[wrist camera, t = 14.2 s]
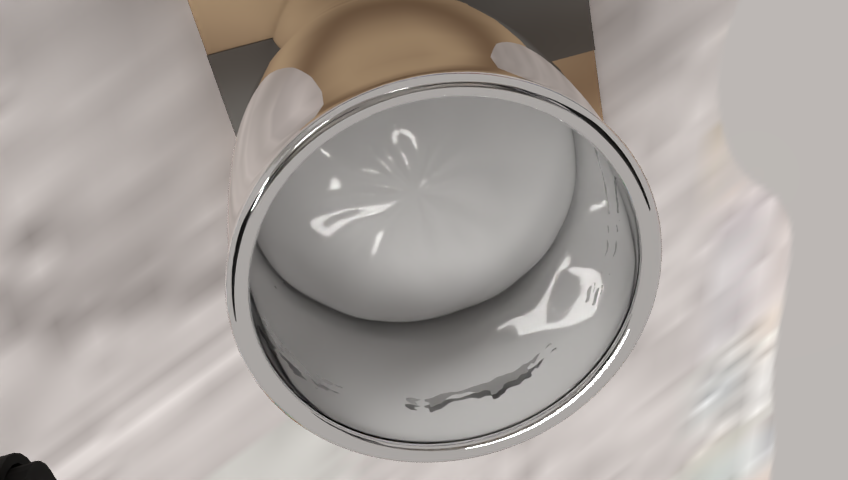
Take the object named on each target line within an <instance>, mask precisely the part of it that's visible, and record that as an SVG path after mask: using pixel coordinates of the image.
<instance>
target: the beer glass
mask: <svg viewBox="0 0 848 480" xmlns="http://www.w3.org/2000/svg"><path fill="white" fill-rule="evenodd" d="M227 238H228V254H227V261H226V271H225V297H226V306H227V313H228V318H229V323H230V327H231V330H232V334H233V337H234V340H235V343H236V345H237V348H238V350H239V353H240V355H241V357H242V359H243V361H244V363H245V365H246V367H247V368H248V370H249V372H250V373H251V375H252V377H253V378H254V380H255V381H256V383H257V384H258V385H259V387H260V388H261V389H262V390H263V392H264V393H265V394H266V395H267V396H268V397H269V399H270V400H271V401H272V402H273V403H274V404H275V405H276V406H277V407H278V408H279V409H280V410H281V411H283V412H284V413H285V414H286V415H287V416H288V417H290V418H291V419H292V420H294V421H295V422H296V423H298V424H299V425H300V426H302V427H303V428H305V429H306V430H308V431H310V432H311V433H313V434H315V435H316V436H318V437H320V438H322V439H324V440H326V441H328V442H330V443H332V444H335V445H337V446H340V447H342V448H345V449H347V450H350V451H353V452H356V453H360V454H363V455H367V456H371V457H375V458H380V459H386V460H393V461H401V462H416V463H432V462H448V461H456V460H463V459H469V458H474V457H479V456H483V455H487V454H491V453H494V452H498V451H501V450H504V449H507V448H510V447H512V446H515V445H517V444H520V443H522V442H525V441H527V440H529V439H531V438H533V437H535V436H537V435H539V434H541V433H543V432H545V431H547V430H549V429H550V428H552V427H554V426H555V425H557V424H559V423H560V422H562V421H563V420H565V419H566V418H568V417H569V416H571V415H572V414H573V413H575V412H576V411H577V410H579V409H580V408H581V407H582V406H583V405H585V404H586V403H587V402H588V401H589V400H590V399H592V398H593V397H594V396H595V395H596V394H597V393H598V392H599V391H600V390H601V389H602V388H603V387H604V386H605V385H606V384H607V383H608V382H609V381H610V379H611V378H612V377H613V376H614V375H615V373H616V372H617V371H618V370H619V368H620V367H621V366H622V364H623V363H624V362H625V360H626V359H627V357H628V356H629V354H630V353H631V351H632V350H633V348H634V346H635V345H636V343H637V341H638V339H639V337H640V335H641V333H642V331H643V329H644V327H645V325H646V323H647V320H648V318H649V315H650V313H651V310H652V307H653V304H654V301H655V297H656V293H657V289H658V285H659V279H660V272H661V262H662V238H661V228H660V221H659V216H658V211H657V207H656V203H655V200H654V197H653V194H652V191H651V189H650V186H649V184H648V181H647V179H646V177H645V175H644V173H643V171H642V169H641V167H640V165H639V164H638V162H637V160H636V159H635V157H634V156H633V154H632V153H631V151H630V150H629V149H628V147H627V146H626V145H625V143H624V142H623V141H622V140H621V139H620V138H619V136H618V135H617V134H616V133H615V132H614V131H613V130H612V129H611V128H610V127H609V126H608V125H607V124H606V123H605V122H603V121H602V120H601V118H600V117H599V116H598V114H597V113H596V112H595V110H594V109H593V108H592V106H591V105H590V104H589V103H588V101H587V100H586V99H585V98H584V97H583V95H582V94H581V93H580V92H579V90H578V89H577V88H576V87H575V86H574V84H573V83H572V82H571V81H570V80H569V78H568V77H567V76H566V75H565V74H564V73H563V72H562V71H561V70H560V69H559V68H558V67H557V66H556V65H555V64H554V63H553V62H552V61H551V60H550V59H549V58H548V57H547V56H546V55H545V54H544V53H542V52H541V51H540V50H539V49H538V48H537V47H536V46H535V45H534V44H533V43H531V42H530V41H529V40H528V39H526V38H525V37H524V36H522V35H521V34H520V33H518V32H517V31H515V30H514V29H512V28H510V27H509V26H507V25H506V24H504V23H503V22H501V21H500V20H498V19H497V18H495V17H493V16H492V15H490V14H488V13H486V12H484V11H482V10H480V9H478V8H476V7H474V6H471V5H469V4H466V3H463V2H460V1H457V0H288V1H287V3H286V5H285V6H284V8H283V10H282V12H281V14H280V16H279V18H278V21H277V24H276V27H275V30H274V34H273V40H272V48H271V61H270V63H269V64H268V65H267V67H266V68H265V70H264V71H263V73H262V74H261V76H260V78H259V79H258V81H257V83H256V85H255V87H254V89H253V91H252V93H251V95H250V98H249V100H248V103H247V105H246V108H245V111H244V115H243V118H242V121H241V124H240V127H239V130H238V133H237V137H236V141H235V145H234V150H233V156H232V163H231V171H230V180H229V188H228V212H227Z"/></svg>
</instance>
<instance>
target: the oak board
mask: <svg viewBox="0 0 848 480" xmlns="http://www.w3.org/2000/svg"><path fill="white" fill-rule="evenodd" d="M287 1H288V0H188V3H189V5H190V8H191V11H192V14H193V16H194V19H195V22H196V25H197V28H198V30H199V33H200V36H201V39H202V42H203V44H204V47H205V50H206V53H207V57H208V60H209V63H210V65H211V68H212V71H213V74H214V77H215V79H216V82H217V85H218V88H219V90H220V93H221V96H222V99H223V102H224V104H225V107H226V110H227V113H228V115H229V118H230V121H231V124H232V127H233V129H234V132H235V135H236V137H237V133H238V130H239V127H240V124H241V121H242V118H243V115H244V111H245V108H246V105H247V103H248V100H249V98H250V95H251V93H252V91H253V89H254V87H255V85H256V83H257V81H258V79H259V78H260V76H261V74H262V73H263V71H264V70H265V68H266V67H267V65H268V64H269V63H270V61H271V48H272V40H273V34H274V30H275V27H276V24H277V21H278V18H279V16H280V14H281V12H282V10H283V8H284V6H285V5H286V3H287ZM457 1H460V2H463V3H466V4H469V5H471V6H474V7H476V8H478V9H480V10H482V11H484V12H486V13H488V14H490V15H492V16H493V17H495V18H497V19H498V20H500V21H501V22H503V23H504V24H506V25H507V26H509V27H510V28H512V29H514V30H515V31H517V32H518V33H520V34H521V35H522V36H524V37H525V38H526V39H528V40H529V41H530V42H531V43H533V44H534V45H535V46H536V47H537V48H538V49H539V50H540V51H541V52H542V53H544V54H545V55H546V56H547V57H548V58H549V59H550V60H551V61H552V62H553V63H554V64H555V65H556V66H557V67H558V68H559V69H560V70H561V71H562V72H563V73H564V74H565V75H566V76H567V77H568V78H569V80H570V81H571V82H572V83H573V84H574V86H575V87H576V88H577V89H578V90H579V92H580V93H581V94H582V95H583V97H584V98H585V99H586V100H587V101H588V103H589V104H590V105H591V106H592V108H593V109H594V110H595V112H596V113H597V114H598V116H599V117H600V118H601V120H602V121H603V115H602V107H601V100H600V92H599V84H598V76H597V69H596V61H595V53H594V50H595V46H594V39H593V31H592V23H591V15H590V8H589V0H457Z"/></svg>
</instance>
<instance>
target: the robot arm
mask: <svg viewBox="0 0 848 480" xmlns="http://www.w3.org/2000/svg"><path fill="white" fill-rule="evenodd" d="M0 480H56V478H55V477H54V475H53V473H52V472H51V470H50V469H49V468H48V466H47V465H46V464H45V463H43V462H42V461H34V462H30V461H29V459H28V458H27V457H25V456H24V455H22V454H21V453H12V454H8V455H5V456H1V457H0Z"/></svg>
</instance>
